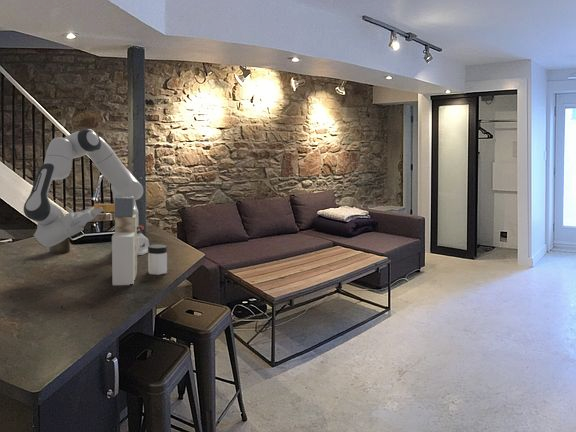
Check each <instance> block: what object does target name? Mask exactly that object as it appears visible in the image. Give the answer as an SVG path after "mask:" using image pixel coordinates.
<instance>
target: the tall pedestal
mask: <svg viewBox="0 0 576 432" xmlns="http://www.w3.org/2000/svg"><path fill="white" fill-rule="evenodd" d="M117 232H135V278H137V273H138V255H137V215H135V214H134V216H133V217H115V216H114V233H117Z"/></svg>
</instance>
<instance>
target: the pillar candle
mask: <svg viewBox="0 0 576 432" xmlns="http://www.w3.org/2000/svg"><path fill="white" fill-rule="evenodd" d="M70 242H71V241H70V237H68V238H66V239H65V240H64V241H62V242H60V243H58V244H56V245H54V246H51V247H48V250H49V251H48V252H49V253H50V254H57V255H58V254H67V253H70V252H71V250H70V249H71V246H70V245H71V244H70Z"/></svg>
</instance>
